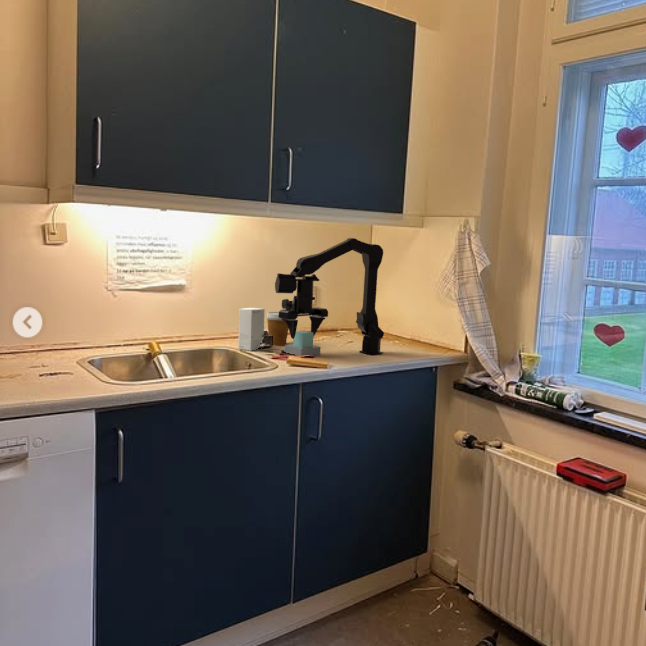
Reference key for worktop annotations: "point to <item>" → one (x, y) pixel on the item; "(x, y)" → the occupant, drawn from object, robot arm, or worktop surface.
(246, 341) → the skincare box
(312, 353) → the block
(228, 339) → the worktop surface
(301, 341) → the teal cube
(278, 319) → the disposable coffee cup
